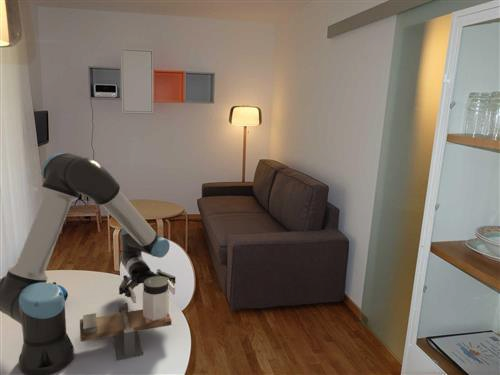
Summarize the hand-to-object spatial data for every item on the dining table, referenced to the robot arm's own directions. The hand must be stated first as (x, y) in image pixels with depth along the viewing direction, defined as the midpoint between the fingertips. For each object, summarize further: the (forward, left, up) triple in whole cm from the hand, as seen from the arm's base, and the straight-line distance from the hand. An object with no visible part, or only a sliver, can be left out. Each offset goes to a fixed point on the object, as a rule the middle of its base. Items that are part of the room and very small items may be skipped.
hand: (154, 295), depth 138 cm
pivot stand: (-5, -9, -14) cm, 17 cm away
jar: (+1, -1, -6) cm, 6 cm away
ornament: (-43, -3, -14) cm, 45 cm away
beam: (-5, -9, -7) cm, 12 cm away
